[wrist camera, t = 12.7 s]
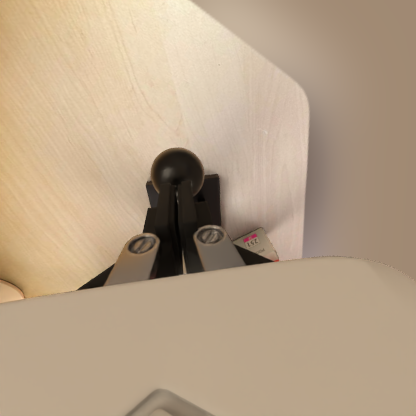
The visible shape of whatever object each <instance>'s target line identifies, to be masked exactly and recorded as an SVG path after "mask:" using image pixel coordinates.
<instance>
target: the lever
mask: <svg viewBox="0 0 416 416" xmlns="http://www.w3.org/2000/svg"><path fill="white" fill-rule="evenodd" d="M151 180H152V184H153V186H154V188H155V189H156V191H157V192H158V193H159V191H160V185H161V184H166V183H171V185H175V189H176V195H177V202H178V185H180V184H181V182H184V181H191V186H192V192H193V196H195V195H196V194H197V193H198V192H199V191H200V189H201V187H202V185H203V182H204V168H203V165H202V163H201V161H200V160H199V158H198V157H197V156H196V155H195V154H194V153H192V152H191V151H189V150H187V149H184V148H170V149H167V150H165V151H163V152H162V153H160V154H159V155H158V156H157V157H156V159H155V160H154V162H153V164H152V167H151ZM186 274H187V273H186V267H185V261H184V255H183V275H186ZM179 276H180V275H179Z"/></svg>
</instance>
